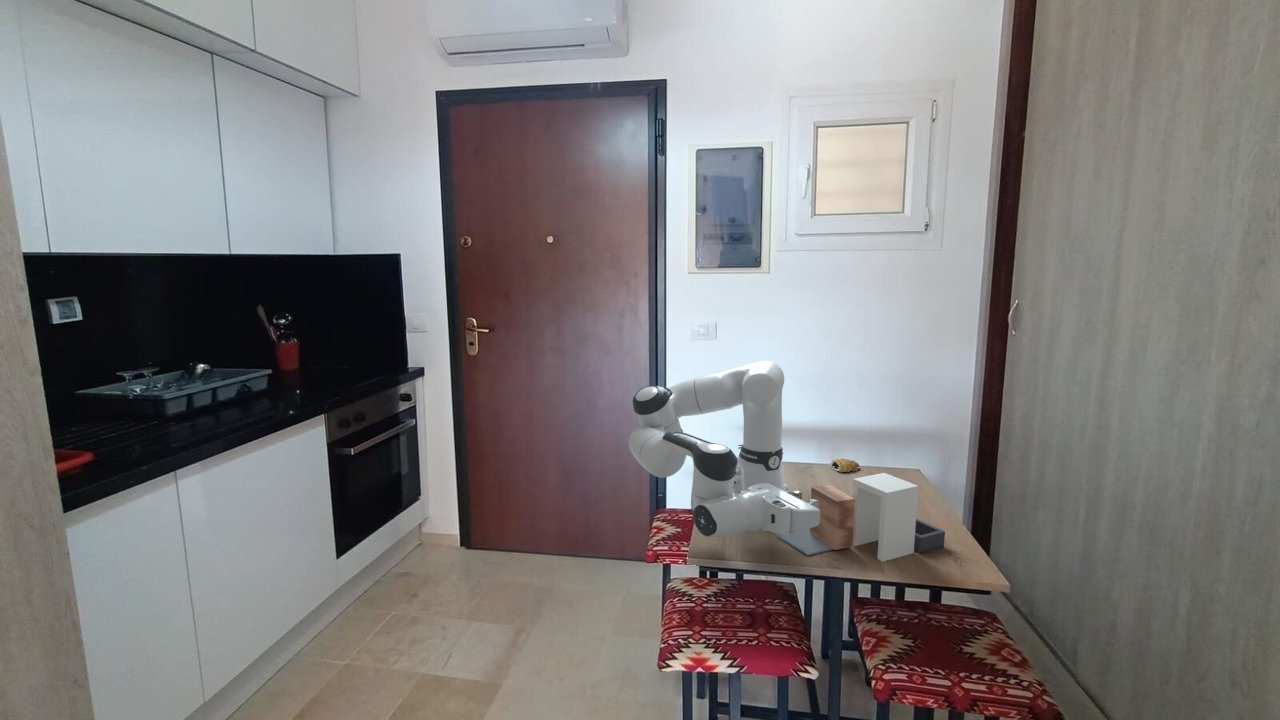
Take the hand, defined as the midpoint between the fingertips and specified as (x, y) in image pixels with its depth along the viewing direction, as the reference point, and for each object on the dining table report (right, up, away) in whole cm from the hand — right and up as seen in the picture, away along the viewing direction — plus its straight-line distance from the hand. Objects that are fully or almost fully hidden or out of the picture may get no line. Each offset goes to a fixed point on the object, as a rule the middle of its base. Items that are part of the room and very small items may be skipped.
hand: (808, 498), depth 143 cm
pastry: (+28, -4, +56) cm, 62 cm away
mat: (+1, -11, +2) cm, 11 cm away
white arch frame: (+17, -12, -1) cm, 21 cm away
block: (+6, -11, +3) cm, 13 cm away
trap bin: (+26, -11, +3) cm, 29 cm away
